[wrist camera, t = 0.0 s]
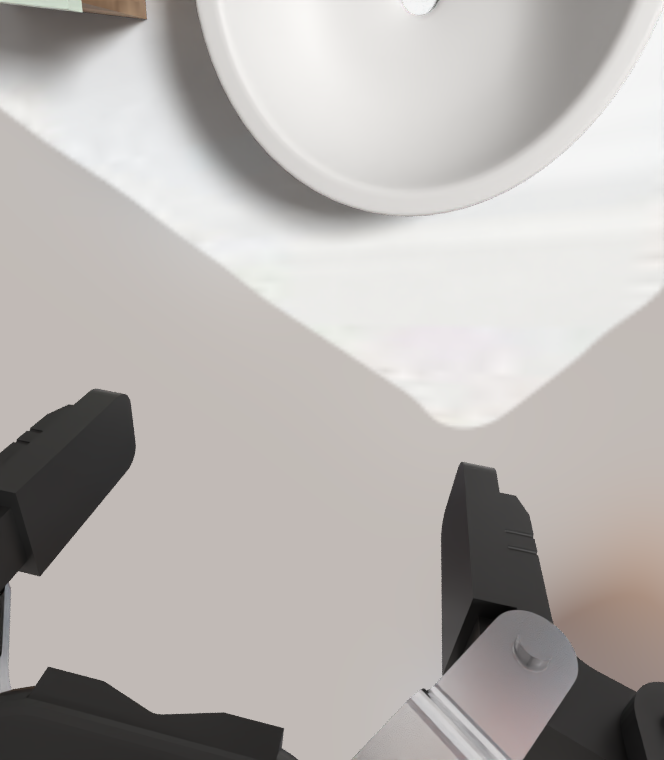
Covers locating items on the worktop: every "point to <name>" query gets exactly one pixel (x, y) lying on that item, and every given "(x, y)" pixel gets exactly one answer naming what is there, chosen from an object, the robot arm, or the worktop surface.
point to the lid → (49, 4)
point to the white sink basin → (421, 89)
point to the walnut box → (116, 7)
